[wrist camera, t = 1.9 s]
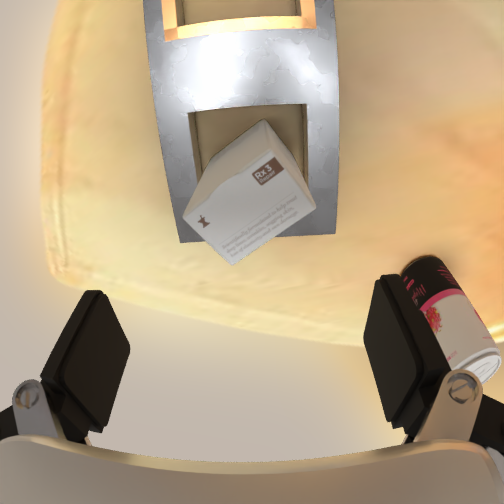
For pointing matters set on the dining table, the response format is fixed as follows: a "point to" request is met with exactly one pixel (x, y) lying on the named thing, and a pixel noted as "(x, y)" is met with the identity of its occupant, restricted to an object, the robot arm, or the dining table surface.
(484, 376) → the beverage can
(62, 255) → the dining table surface
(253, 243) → the skincare box
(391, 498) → the robot arm
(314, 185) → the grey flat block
